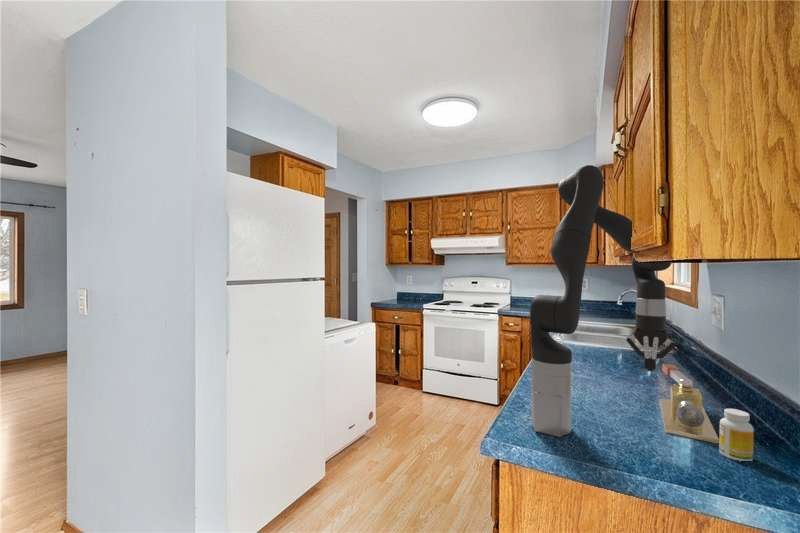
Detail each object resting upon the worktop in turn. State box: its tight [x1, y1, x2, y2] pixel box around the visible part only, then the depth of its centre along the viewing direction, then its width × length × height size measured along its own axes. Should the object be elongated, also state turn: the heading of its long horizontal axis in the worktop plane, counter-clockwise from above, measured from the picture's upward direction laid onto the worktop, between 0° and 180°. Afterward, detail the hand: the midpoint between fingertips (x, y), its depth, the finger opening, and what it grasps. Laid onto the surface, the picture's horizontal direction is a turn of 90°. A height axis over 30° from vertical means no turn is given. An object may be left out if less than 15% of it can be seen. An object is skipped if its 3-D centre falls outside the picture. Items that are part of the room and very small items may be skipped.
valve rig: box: [659, 382, 719, 444], centre depth 96 cm, size 24×10×9 cm, turn 147°
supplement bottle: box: [718, 408, 755, 462], centre depth 78 cm, size 5×5×10 cm
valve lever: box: [661, 363, 694, 388], centre depth 102 cm, size 16×3×2 cm, turn 158°
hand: (649, 370), depth 109 cm, fingers closed
